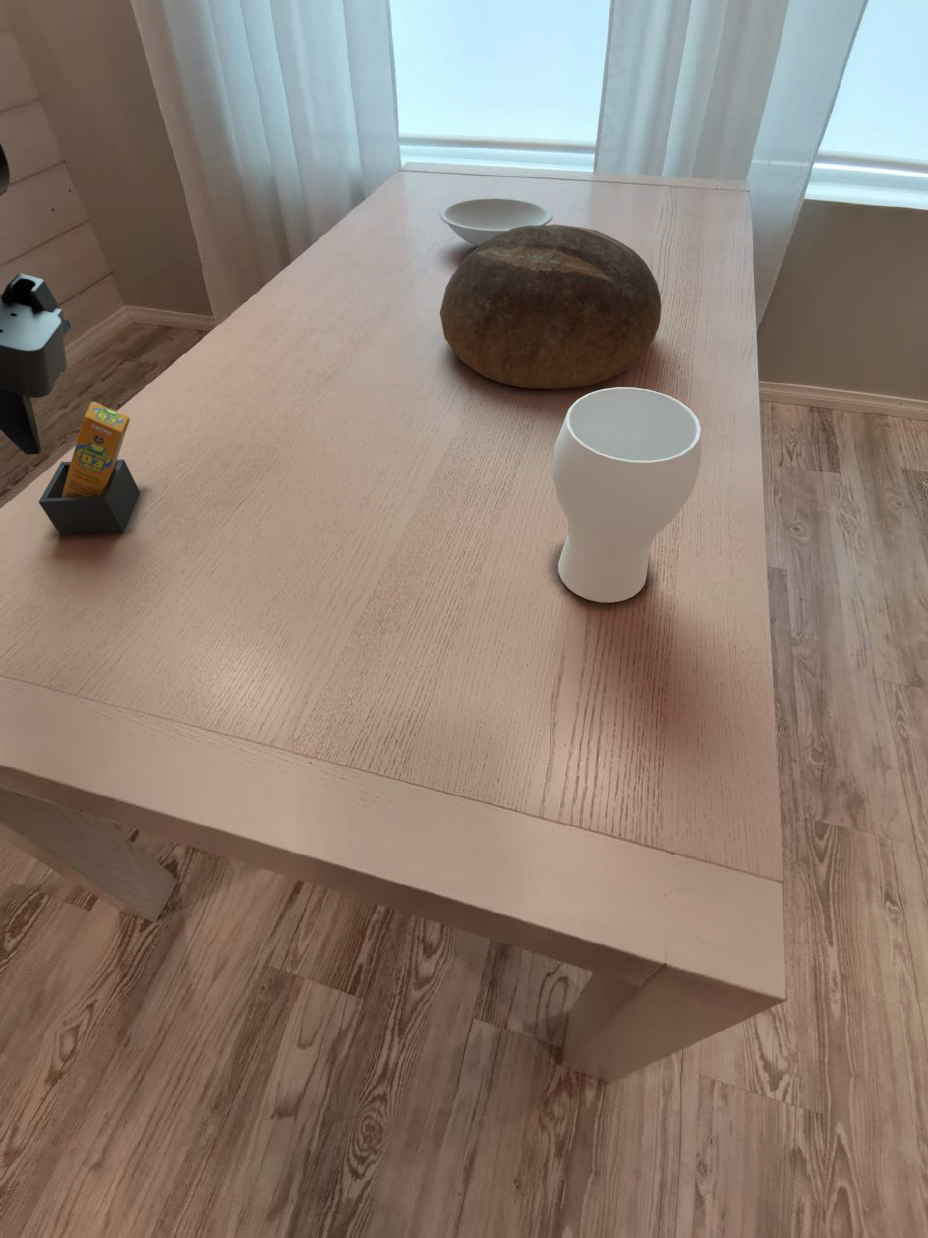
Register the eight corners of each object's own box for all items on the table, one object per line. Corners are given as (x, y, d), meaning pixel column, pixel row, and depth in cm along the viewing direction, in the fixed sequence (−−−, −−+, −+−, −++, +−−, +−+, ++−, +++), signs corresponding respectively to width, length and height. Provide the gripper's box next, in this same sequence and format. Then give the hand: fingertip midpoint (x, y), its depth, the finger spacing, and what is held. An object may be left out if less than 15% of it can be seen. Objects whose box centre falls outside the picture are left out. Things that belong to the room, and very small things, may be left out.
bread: (608, 421, 72) (629, 301, 62) (405, 364, 81) (395, 251, 71) (679, 324, 87) (705, 214, 77) (500, 284, 96) (503, 181, 86)
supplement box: (56, 506, 60) (80, 413, 55) (68, 488, 63) (92, 397, 58) (95, 519, 62) (122, 430, 57) (105, 501, 64) (132, 414, 59)
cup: (517, 576, 57) (527, 428, 46) (585, 515, 62) (609, 368, 51) (621, 637, 53) (661, 489, 41) (685, 565, 58) (736, 416, 46)
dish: (554, 234, 108) (557, 199, 104) (544, 269, 99) (547, 233, 95) (450, 228, 110) (449, 194, 107) (431, 262, 101) (430, 227, 97)
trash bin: (123, 531, 62) (105, 498, 59) (59, 535, 62) (38, 502, 59) (140, 491, 66) (123, 458, 63) (80, 494, 66) (61, 461, 63)
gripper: (-81, 338, 29) (80, 578, 41) (62, 196, 41) (155, 414, 53) (-335, 348, 29) (-99, 587, 41) (-116, 202, 41) (17, 420, 53)
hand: (10, 491), depth 47 cm, fingers open, 9 cm apart
